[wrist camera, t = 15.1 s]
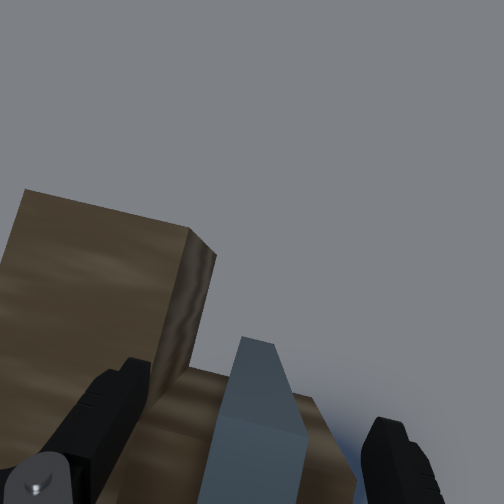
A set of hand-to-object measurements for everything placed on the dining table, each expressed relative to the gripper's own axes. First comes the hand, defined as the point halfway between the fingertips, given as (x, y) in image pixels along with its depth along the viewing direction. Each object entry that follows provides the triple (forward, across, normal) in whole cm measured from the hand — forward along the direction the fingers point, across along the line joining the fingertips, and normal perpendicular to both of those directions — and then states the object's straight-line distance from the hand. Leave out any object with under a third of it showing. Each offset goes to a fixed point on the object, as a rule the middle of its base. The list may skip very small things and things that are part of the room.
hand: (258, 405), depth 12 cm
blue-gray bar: (+8, 0, -10) cm, 13 cm away
